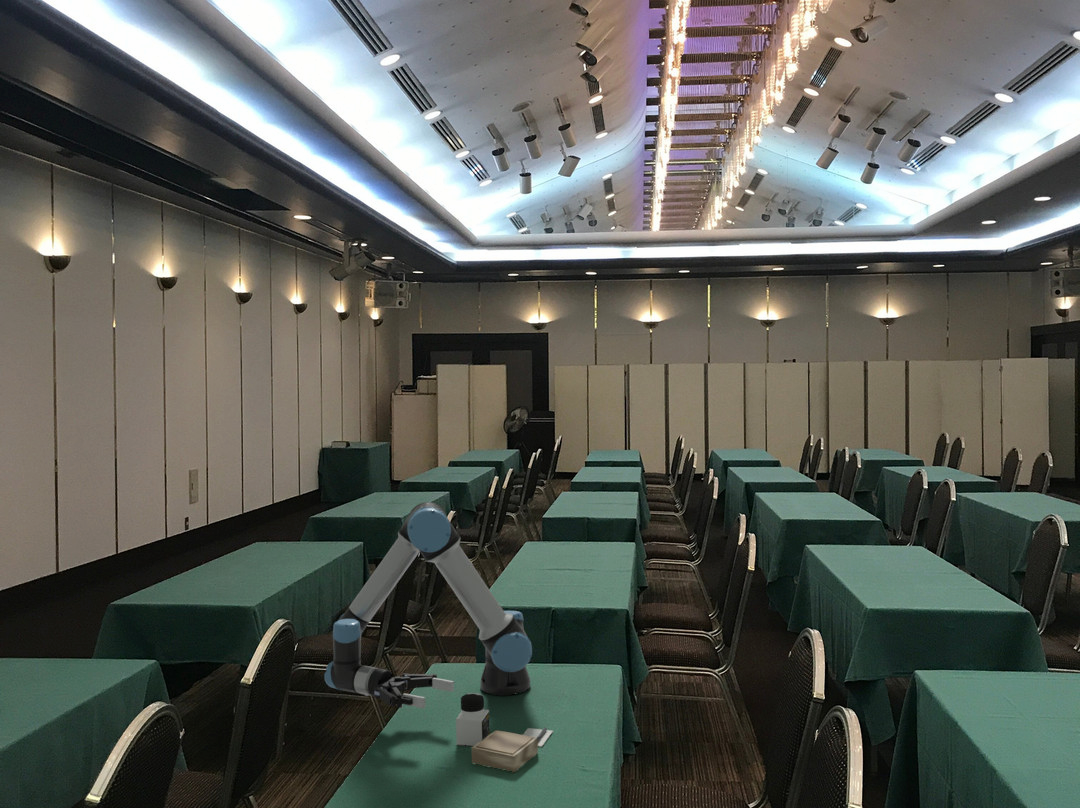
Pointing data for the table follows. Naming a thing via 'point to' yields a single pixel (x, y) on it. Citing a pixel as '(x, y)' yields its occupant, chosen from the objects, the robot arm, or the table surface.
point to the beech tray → (504, 750)
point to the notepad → (539, 735)
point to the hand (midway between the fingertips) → (439, 694)
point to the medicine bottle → (472, 720)
